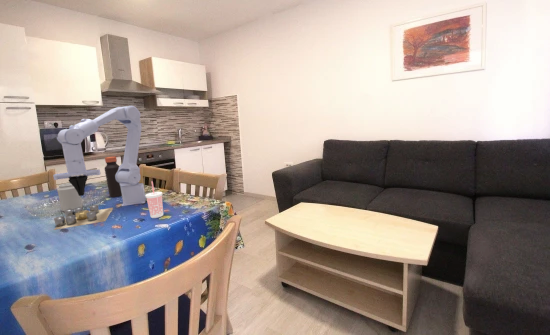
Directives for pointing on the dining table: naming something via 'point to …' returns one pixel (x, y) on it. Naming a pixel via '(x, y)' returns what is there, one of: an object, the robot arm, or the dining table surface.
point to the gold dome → (81, 215)
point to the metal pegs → (71, 216)
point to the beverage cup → (155, 203)
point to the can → (69, 197)
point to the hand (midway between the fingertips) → (81, 195)
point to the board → (101, 217)
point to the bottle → (112, 177)
